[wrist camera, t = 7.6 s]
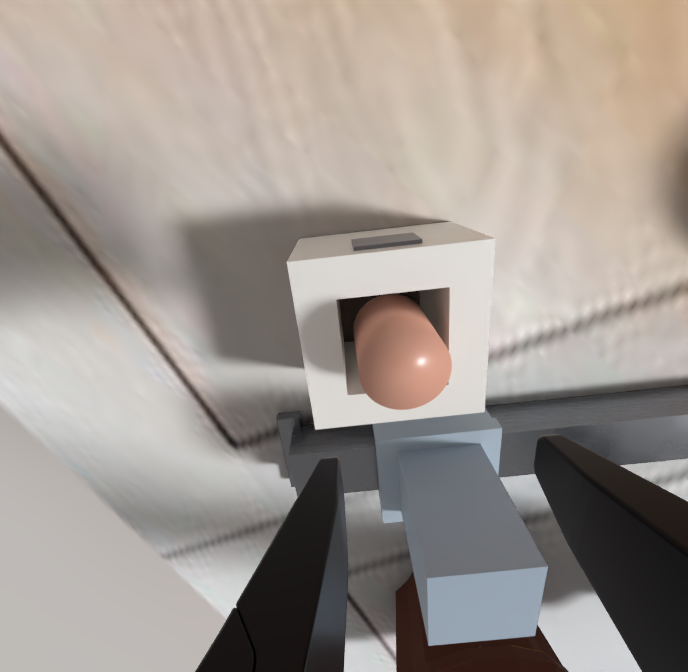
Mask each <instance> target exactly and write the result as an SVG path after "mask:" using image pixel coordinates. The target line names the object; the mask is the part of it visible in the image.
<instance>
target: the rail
mask: <svg viewBox="0 0 688 672" xmlns="http://www.w3.org/2000/svg"><path fill="white" fill-rule="evenodd" d="M485 408H486V410H487V411H488V413H489V414H490V416H491V417H492V418H496V419H497V421H498V422H499V424H500V425H501V427H502V438H501V449H500V461H499V472H498V476H499V477H508V476H518V475H528V474H535V470H534V459H535V452H536V445H537V440H538V438H539V437H540V436H542V435H550V434H560V435H562V436H564V437H566V438H568V439H570V440H572V441H574V442H576V443H578V444H579V445H581V446H583V447H585V448H587V449H589V450H591V451H593V452H595V453H597V454H598V455H600V456H602V457H604V458H606V459H608V460H610V461H612V462H614V463H615V464H617V465H627V464H637V463H647V462H657V461H666V460H676V459H686V458H688V385H686V386H676V387H667V388H657V389H648V390H638V391H629V392H619V393H609V394H600V395H590V396H581V397H571V398H562V399H552V400H543V401H533V402H523V403H514V404H504V405H495V406H485ZM277 424H278V428H279V433H280V437H281V442H282V446H283V451H284V455H285V460H286V464H287V469H288V473H289V478H290V482H291V487H295V488H296V492H297V497H298V496H299V494H300V493H301V491H302V489H303V487H304V486H305V484H306V482H307V481H308V479H309V477H310V475H311V474H312V472H313V470H314V469H315V467H316V465H317V463H318V462H319V460H320V459H322V458H328V457H338V458H339V460H340V467H341V474H342V481H343V488H344V493H350V492H360V491H370V490H379V479H378V468H377V457H376V446H375V439H374V433H373V426H372V424H366V425H356V426H347V427H337V428H328V429H318V430H315V425H314V424H313V425H303V426H302V424H301V419H300V414H299V412H289V413H280V414H278V417H277Z"/></svg>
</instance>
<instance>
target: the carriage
mask: <svg viewBox="0 0 688 672" xmlns="http://www.w3.org/2000/svg"><path fill="white" fill-rule="evenodd" d="M372 426H373V433H374V439H375V446H376V457H377V468H378V479H379V497H380V504H381V512H382V519H383V524H384V523H394V522H403V523H404V528H405V533H406V538H407V543H408V547H409V552H410V557H411V562H412V567H413V572H414V577H415V582H416V587H417V592H418V597H419V601H420V606H421V611H422V616H423V621H424V626H425V631H426V636H427V641H428V646H433V645H444V644H455V643H466V642H476V641H487V640H498V639H508V638H519V637H530V636H535V634H536V628H537V623H538V618H539V613H540V607H541V602H542V597H543V591H544V586H545V581H546V576H547V570H548V565H547V564H546V562H545V560H544V558H543V556H542V554H541V553H540V551H539V549H538V547H537V545H536V544H535V542H534V540H533V538H532V536H531V535H530V533H529V531H528V529H527V527H526V525H525V524H524V522H523V520H522V518H521V516H520V515H519V513H518V511H517V509H516V507H515V506H514V504H513V502H512V500H511V498H510V496H509V495H508V493H507V491H506V489H505V487H504V486H503V484H502V482H501V480H500V478H499V476H498V472H499V461H500V449H501V438H502V427H501V425H500V424H499V422H498V421H497V419H496V418H492V417H491V416H490V414H489V413H488V411H487V410H486V408H485V412H481V413H471V414H462V415H452V416H443V417H433V418H424V419H414V420H404V421H395V422H385V423H376V424H372Z"/></svg>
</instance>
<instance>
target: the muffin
mask: <svg viewBox="0 0 688 672" xmlns="http://www.w3.org/2000/svg"><path fill="white" fill-rule="evenodd" d="M396 665H397V672H568V671H567V669H566V668H565V667H563V665H562V664H561V662H560V661H559V659H558V657H557V656H556V654H555V653H554V651H553V649H552V648H551V646H550V644H549V643H548V641H547V640H546V638H545V636H544V635H543V633H542V631H541V630H540V628H539V627H538V625H537V628H536V634H535V636H530V637H519V638H508V639H498V640H487V641H476V642H466V643H455V644H444V645H433V646H428V641H427V636H426V631H425V626H424V621H423V616H422V611H421V606H420V601H419V597H418V592H417V587H416V582H415V577H414V572H413V573H412V574H411V576H410V577H409V579H408V580H407V582H406V583H405V584H403V585H402V586H401V587H400V588H399V589H398V590H397V591H396Z"/></svg>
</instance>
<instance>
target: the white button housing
mask: <svg viewBox="0 0 688 672" xmlns="http://www.w3.org/2000/svg"><path fill="white" fill-rule="evenodd" d="M494 255H495V238H492V237H490V236H487V235H485V234H482V233H479V232H477V231H474V230H472V229H469V228H467V227H464V226H461V225H459V224H456V223H454V222H451V221H450V222H441V223H432V224H423V225H415V226H406V227H397V228H388V229H379V230H371V231H362V232H353V233H344V234H335V235H326V236H318V237H309V238H300V239H299V240H298V242H297V244H296V246H295V247H294V249H293V251H292V253H291V255H290V257H289V259H288V260H287V267H288V273H289V279H290V285H291V291H292V297H293V302H294V308H295V314H296V320H297V326H298V332H299V337H300V343H301V349H302V355H303V361H304V367H305V372H306V378H307V384H308V390H309V396H310V402H311V407H312V413H313V419H314V425H315V430H318V429H328V428H337V427H347V426H356V425H366V424H376V423H385V422H395V421H404V420H414V419H424V418H433V417H443V416H452V415H462V414H471V413H481V412H485V398H486V382H487V366H488V350H489V334H490V318H491V303H492V287H493V271H494ZM410 291H420V308H421V309H422V311H423V312H424V314H425V315H426V317H427V318H428V320H429V321H430V323H431V324H432V326H433V327H434V329H435V330H436V332H437V333H438V335H439V336H440V338H441V339H442V341H443V342H444V344H445V345H446V347H447V349H448V351H449V353H450V356H451V361H452V370H451V375H450V378H449V381H448V383H447V385H446V387H445V388H444V389H443V391H442V392H441V393H440V394H439V395H438V396H437V397H436V398H435V399H433V400H432V401H430V402H429V403H427V404H425V405H422V406H420V407H417V408H413V409H407V410H396V409H390V408H387V407H384V406H381V405H379V404H377V403H376V402H374V401H373V400H372V399H371V398H370V397H369V396H368V395H367V394H366V393H365V391H364V390H363V388H362V385H361V383H360V378H359V371H358V364H357V356H356V349H355V341H353V342H344V337H343V329H342V320H341V312H340V303H339V299H347V298H356V297H365V296H374V295H383V294H392V293H401V292H410Z"/></svg>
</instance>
